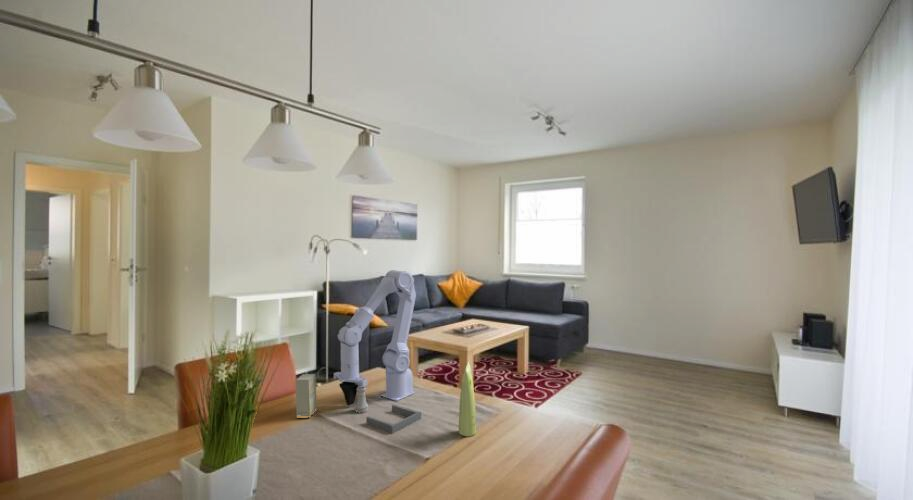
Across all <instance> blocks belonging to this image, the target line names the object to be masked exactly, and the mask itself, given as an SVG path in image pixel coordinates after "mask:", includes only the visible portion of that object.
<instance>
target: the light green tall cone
mask: <svg viewBox="0 0 913 500" xmlns="http://www.w3.org/2000/svg"><path fill="white" fill-rule="evenodd" d="M472 374H473V373H472V368H471V365H470V360H468V362H467V364H466V366H465V370H464V373H463V375H462V381H461V387H460V396H459V408H458V409H459V411H458V414H459V415H458V434H460V435H461V436H464V437H471V436H474V435H475V434H476V433H477V420H476V419H477V418H476V400H475V399H476V397H475V391H474V390H475V389H474V382H473V375H472Z"/></svg>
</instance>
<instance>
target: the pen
mask: <svg viewBox="0 0 913 500" xmlns="http://www.w3.org/2000/svg"><path fill="white" fill-rule="evenodd" d="M391 412H392V413H394V414H399V415H402V416H404V417H406V418H403V419H402V420H399V421H398V422H395V423H394V424H393V423H390V422H387V421H385V420H380V419H378V418H375V417H373V416H370V415H368V416H366V419H365V420H366V423H367V425H369V426H372V427H375V428H378V429H380V430H383V431H386V432H390V434H394V433H398V432H399V431H401V430H402V429H405V428H406V427H409V426H410V425H411V424H414V423H416V422H417V421H419V420H422V411H416V410H413V409H410V408H407V407H403V406H400V405H396V404H392V405H391ZM366 423H365V424H366Z"/></svg>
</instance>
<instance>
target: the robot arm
mask: <svg viewBox="0 0 913 500" xmlns="http://www.w3.org/2000/svg"><path fill="white" fill-rule="evenodd" d="M415 289H416V288H415V278H414V277H413V276H412V274H411V273H410V272H409V271H406V270H402V271H401V270H395V269H390V270H389V271H387V273H386V274H385V276H383V277H382V278H381V281H380V283H379V285H378V286H377V288H376V289H375V291H374V292H373V293H372V295H371V296H370V298H369V300H368V301H367V303H366V305H364V306H360V307H359V308H356V309H355V310H354V314H353V316H352V317H351V318H350V320H349V321H347V322H346V323H345V325H344V326H342V328H340V329H339V331H338V334H337V335H336V336H337V340H338V341H340V371H337V372H333V380H338V382H341V383H339V384H338V385H339V388H340V389H341V390H342V391H341V392H342V393H343V396H344V399H345V402H346V405H347V406H351V405H355V401H356V396H357V393H358V392H357V390H356V389H357V386H359V387H360V385H361V387H364V386H365V387H367V386H368V379H367V378H364V377H363V376H361V374H360V361H359V360H360V359H359V358H360V357H359V350H360V349H359V343H360V342H361V341H362V336H363V333H364V331H365V330H366V329H367V327H368V326H369V325H370V323H371V322H372V320H373V319H374V312H375V311H376V309H377V308H378V307H379V305H380V304H381V303H383V301H384V300H385V298H386V297H387V296H388V295H389V294H392V293H396V294H397V296H398V297H399V303H398V307H397V312H396V318H395V320H394V321H395V322H394V327H393V332H392V337H391V341H390V343H388V345H387V346H386V350H385V351H384V353H383V355H382V363H383V365H384V366H385V392H384V393H382V394H380V397H381V396H383V397H382V398H385V397H386V398H385V399H388V398H389V399H388V400H392V401H397V402H398V401H400V400H402V399H404V398H407V397H409V396H411V395H414V394H415V393H416V391H414V375H413V372H412V370H411V369H410V368H409V367H410V363H411V361H410V349H409V347H408V338H409V333H410V330H411V323H412V318H413V313H414V307H415V302H416V298H417V292H416V290H415Z"/></svg>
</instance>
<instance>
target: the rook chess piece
mask: <svg viewBox="0 0 913 500" xmlns="http://www.w3.org/2000/svg"><path fill="white" fill-rule="evenodd" d="M356 390H357V394H356V396H357V399H356V403H355V404H354V408H355V409H354V411H355V410H356V411H357V412H365V413H367V412H368V411H369V409H370V408H369V404H368V402H367V399H366V394H367V393H366V391H367V386H364V387H361V385H360V387H359V386H357V389H356ZM366 411H367V412H366ZM357 412H356V413H357Z"/></svg>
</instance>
